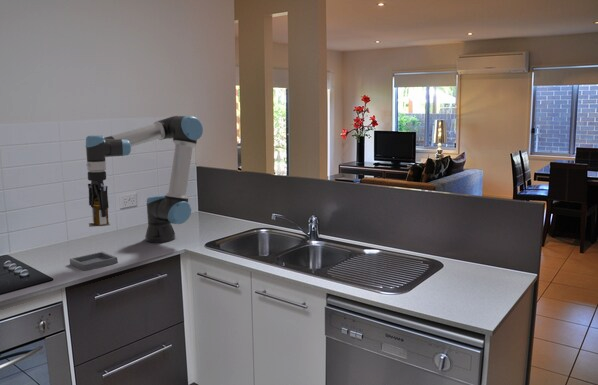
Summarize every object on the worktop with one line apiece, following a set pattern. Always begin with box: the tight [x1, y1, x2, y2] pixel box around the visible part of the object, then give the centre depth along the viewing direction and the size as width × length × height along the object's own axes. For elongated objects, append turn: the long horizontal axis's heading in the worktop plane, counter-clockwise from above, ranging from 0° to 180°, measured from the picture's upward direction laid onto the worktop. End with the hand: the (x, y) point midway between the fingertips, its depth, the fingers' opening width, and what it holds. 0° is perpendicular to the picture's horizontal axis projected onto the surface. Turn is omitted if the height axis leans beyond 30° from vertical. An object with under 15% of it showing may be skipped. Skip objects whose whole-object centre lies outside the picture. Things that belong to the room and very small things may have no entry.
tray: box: [69, 251, 118, 272], centre depth 225 cm, size 15×14×2 cm
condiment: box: [88, 198, 111, 228], centre depth 225 cm, size 7×8×12 cm
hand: (99, 222), depth 225 cm, fingers closed on condiment, 6 cm apart
